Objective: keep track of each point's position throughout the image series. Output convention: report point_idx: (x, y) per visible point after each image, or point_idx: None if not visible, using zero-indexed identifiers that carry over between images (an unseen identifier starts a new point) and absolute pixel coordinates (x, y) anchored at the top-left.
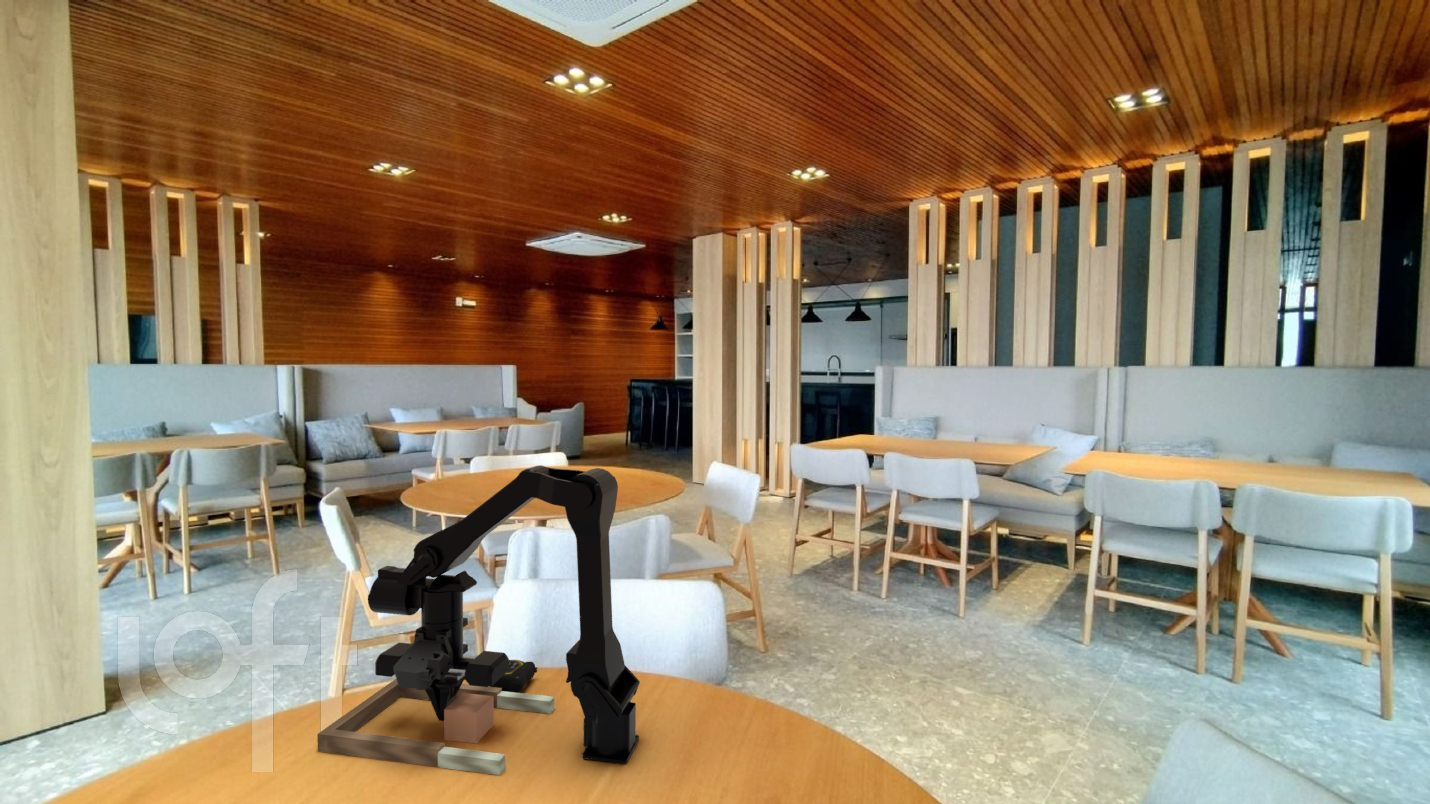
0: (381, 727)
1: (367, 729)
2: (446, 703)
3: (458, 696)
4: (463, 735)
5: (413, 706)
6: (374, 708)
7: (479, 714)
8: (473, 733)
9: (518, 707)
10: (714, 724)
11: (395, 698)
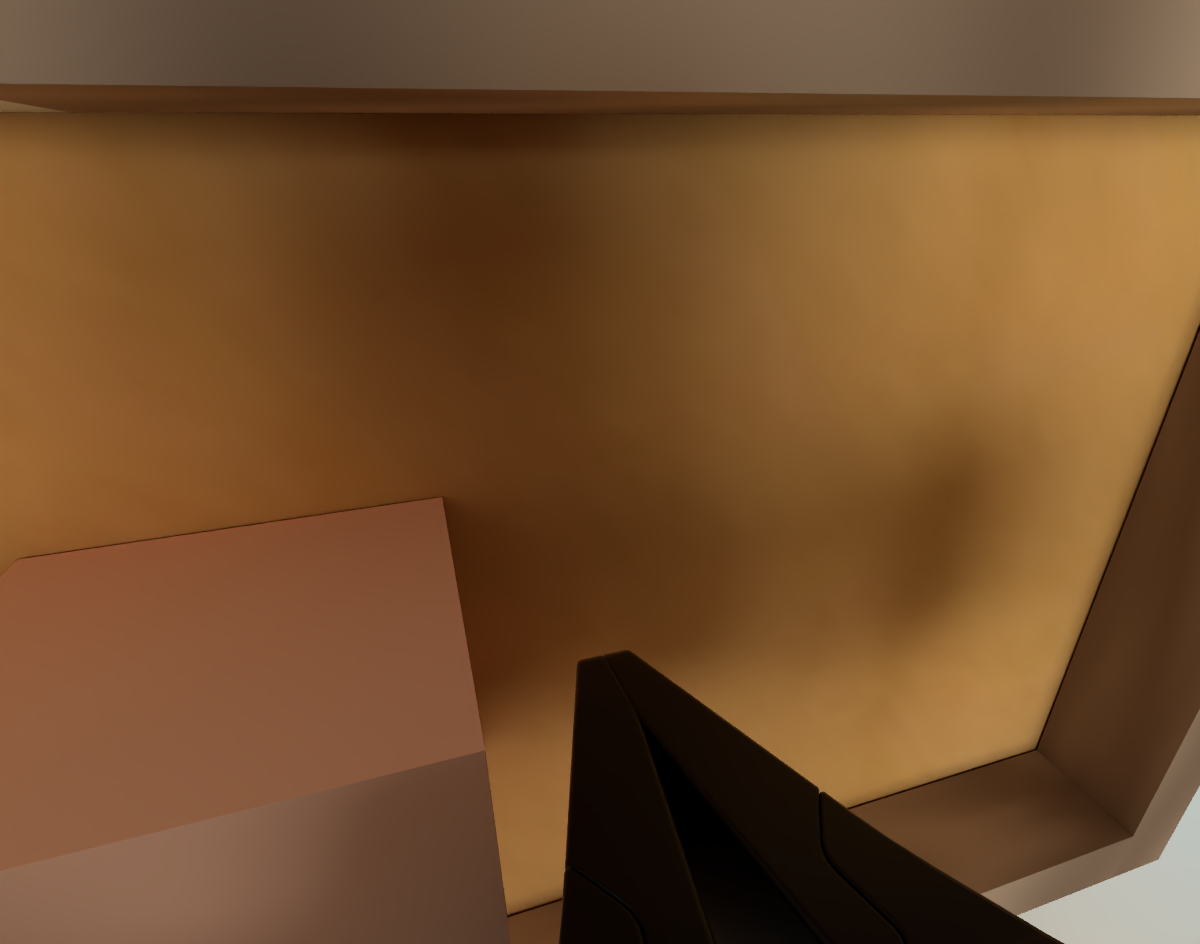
0: (1037, 462)
1: (1118, 407)
2: (568, 856)
3: None
4: (176, 573)
5: (931, 720)
6: (1180, 577)
7: None
8: None
9: None
10: None
11: (1066, 724)
